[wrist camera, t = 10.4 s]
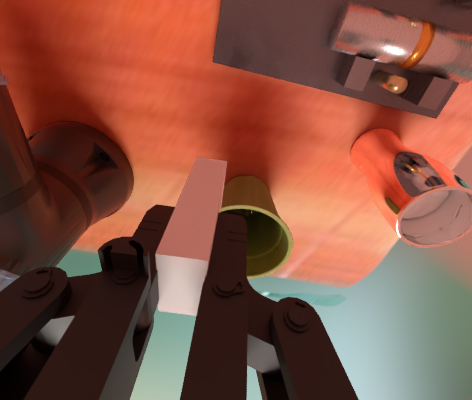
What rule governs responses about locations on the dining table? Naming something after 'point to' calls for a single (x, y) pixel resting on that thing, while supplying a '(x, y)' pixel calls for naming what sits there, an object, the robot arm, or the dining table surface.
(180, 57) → the dining table surface
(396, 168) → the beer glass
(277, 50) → the steam engine
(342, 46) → the tube
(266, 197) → the plant pot
